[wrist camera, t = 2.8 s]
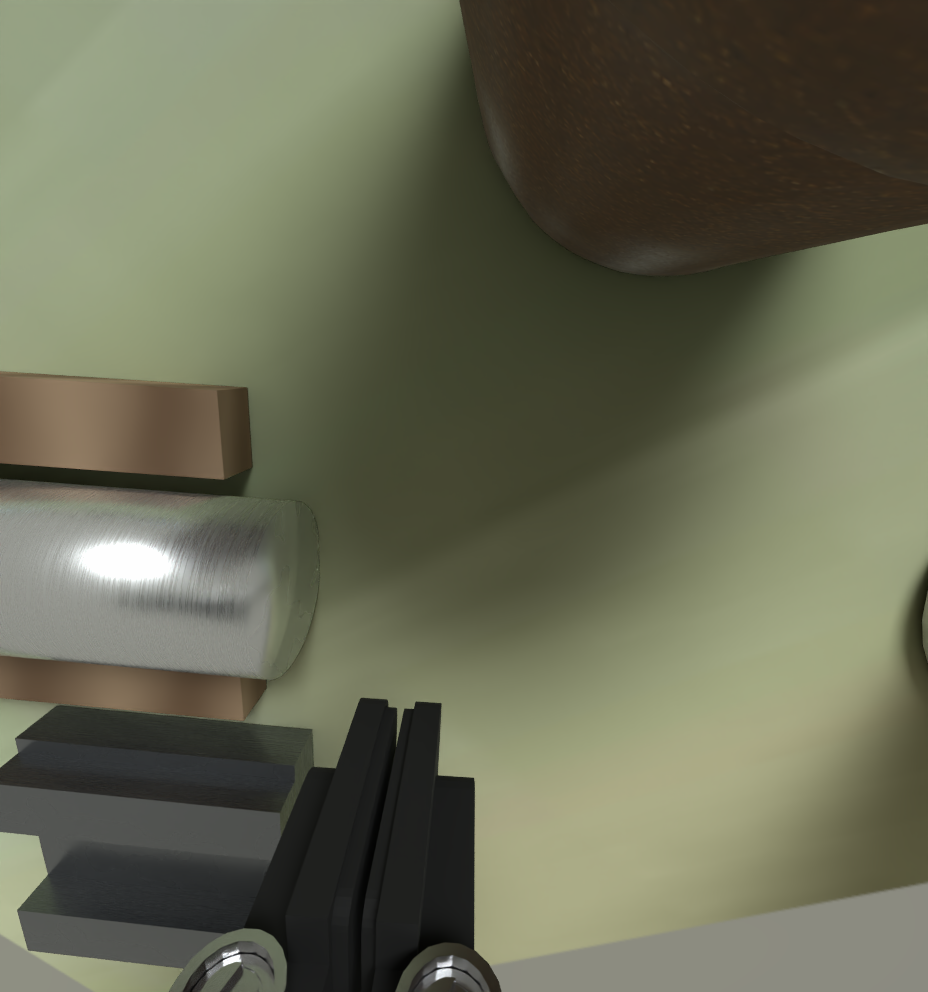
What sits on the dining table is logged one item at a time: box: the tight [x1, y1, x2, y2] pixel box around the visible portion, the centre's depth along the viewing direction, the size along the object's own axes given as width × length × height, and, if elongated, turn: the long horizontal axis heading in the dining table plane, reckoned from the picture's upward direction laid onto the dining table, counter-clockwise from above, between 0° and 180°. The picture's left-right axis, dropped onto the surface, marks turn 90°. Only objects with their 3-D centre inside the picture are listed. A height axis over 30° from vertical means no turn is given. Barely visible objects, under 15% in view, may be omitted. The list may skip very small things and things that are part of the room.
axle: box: [0, 479, 320, 680], centre depth 17 cm, size 16×6×6 cm, turn 87°
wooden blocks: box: [0, 371, 266, 721], centre depth 19 cm, size 16×13×2 cm
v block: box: [0, 706, 313, 969], centre depth 22 cm, size 12×11×4 cm
